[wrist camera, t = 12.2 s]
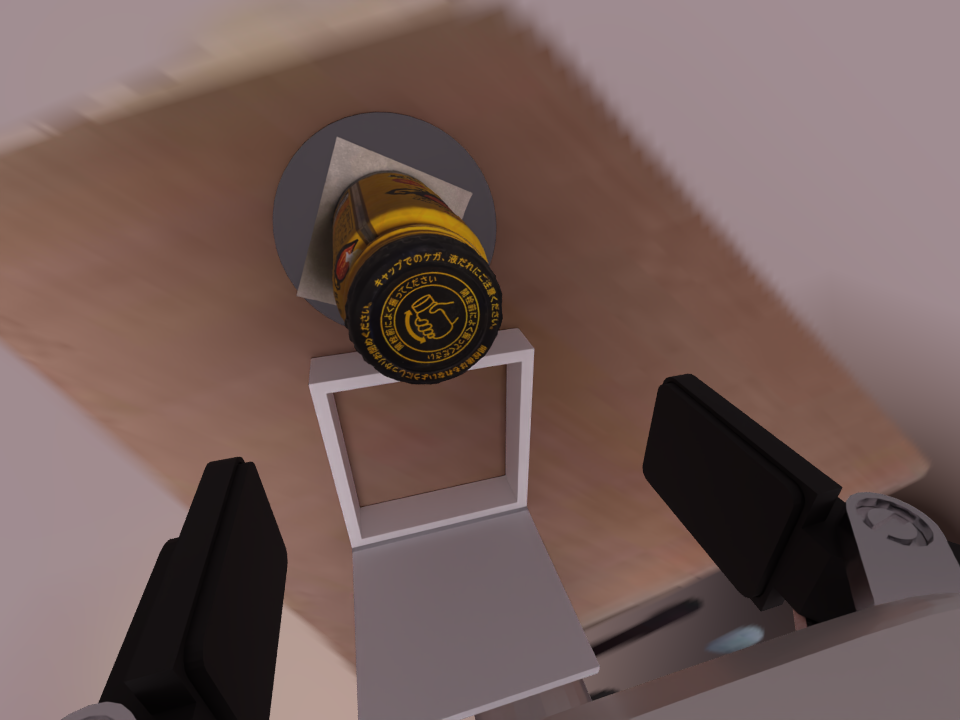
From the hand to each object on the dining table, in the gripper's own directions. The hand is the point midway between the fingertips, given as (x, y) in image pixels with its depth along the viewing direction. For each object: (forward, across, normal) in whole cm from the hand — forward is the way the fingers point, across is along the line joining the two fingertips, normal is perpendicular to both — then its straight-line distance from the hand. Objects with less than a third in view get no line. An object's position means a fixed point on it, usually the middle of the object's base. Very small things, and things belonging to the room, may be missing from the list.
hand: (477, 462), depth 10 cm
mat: (+18, 0, -1) cm, 18 cm away
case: (+19, -1, +14) cm, 23 cm away
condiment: (+18, +1, -1) cm, 18 cm away
